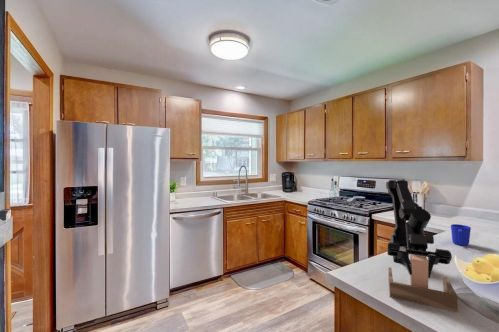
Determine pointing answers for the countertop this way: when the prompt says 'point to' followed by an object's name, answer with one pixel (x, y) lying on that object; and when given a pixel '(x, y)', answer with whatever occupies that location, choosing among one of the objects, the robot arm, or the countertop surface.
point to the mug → (460, 234)
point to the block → (419, 271)
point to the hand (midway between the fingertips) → (419, 276)
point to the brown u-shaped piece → (425, 294)
